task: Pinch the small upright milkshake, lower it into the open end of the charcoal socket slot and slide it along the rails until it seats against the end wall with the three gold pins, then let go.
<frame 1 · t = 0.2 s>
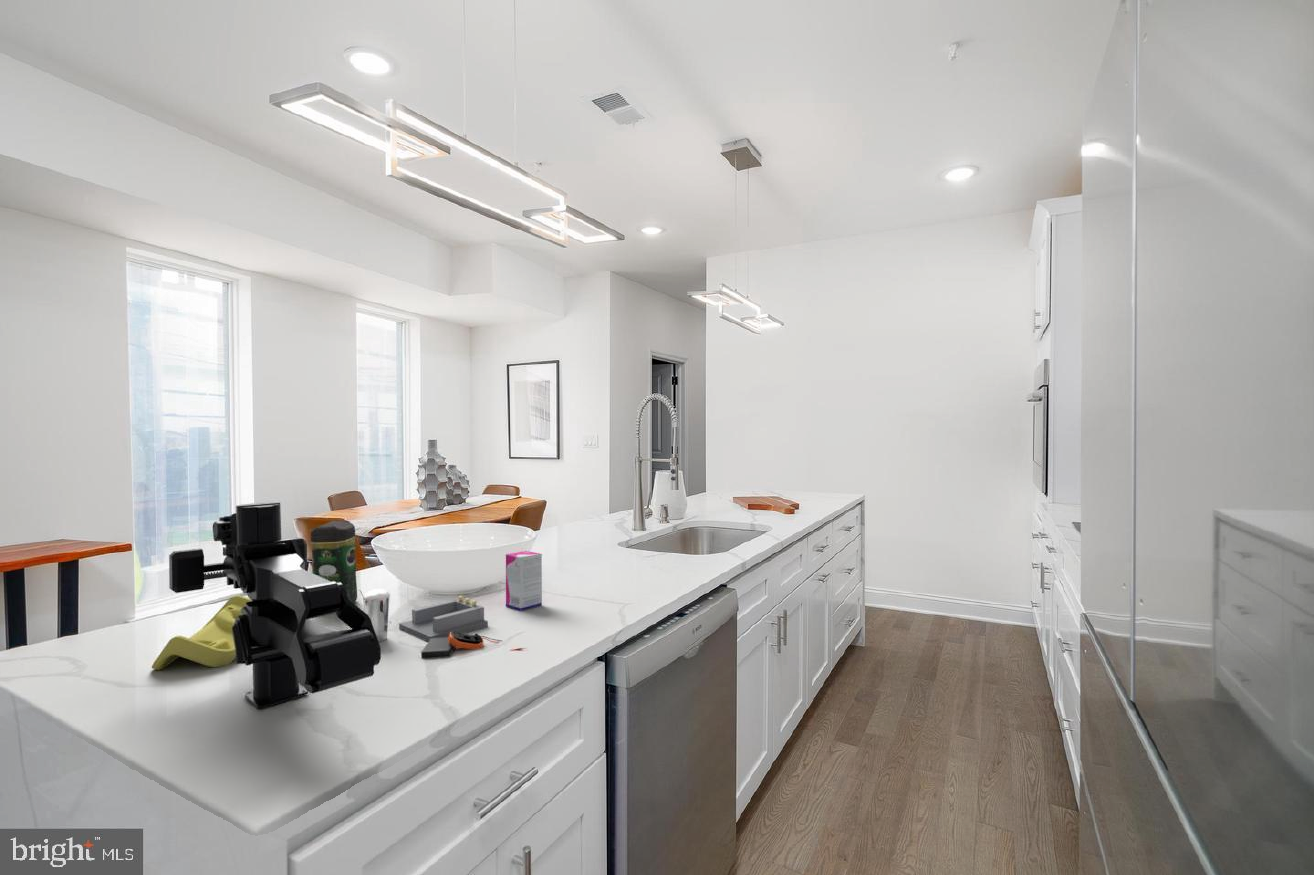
hand: (229, 558, 107), 17 cm above the counter, tool horizontal, fingers open, 9 cm apart
supplement box: (524, 606, 134), on the counter
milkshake: (375, 641, 113), on the counter
header socket: (443, 627, 120), on the counter
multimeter: (479, 648, 110), on the counter
plastic component: (222, 652, 109), on the counter
coffee jar: (334, 607, 135), on the counter
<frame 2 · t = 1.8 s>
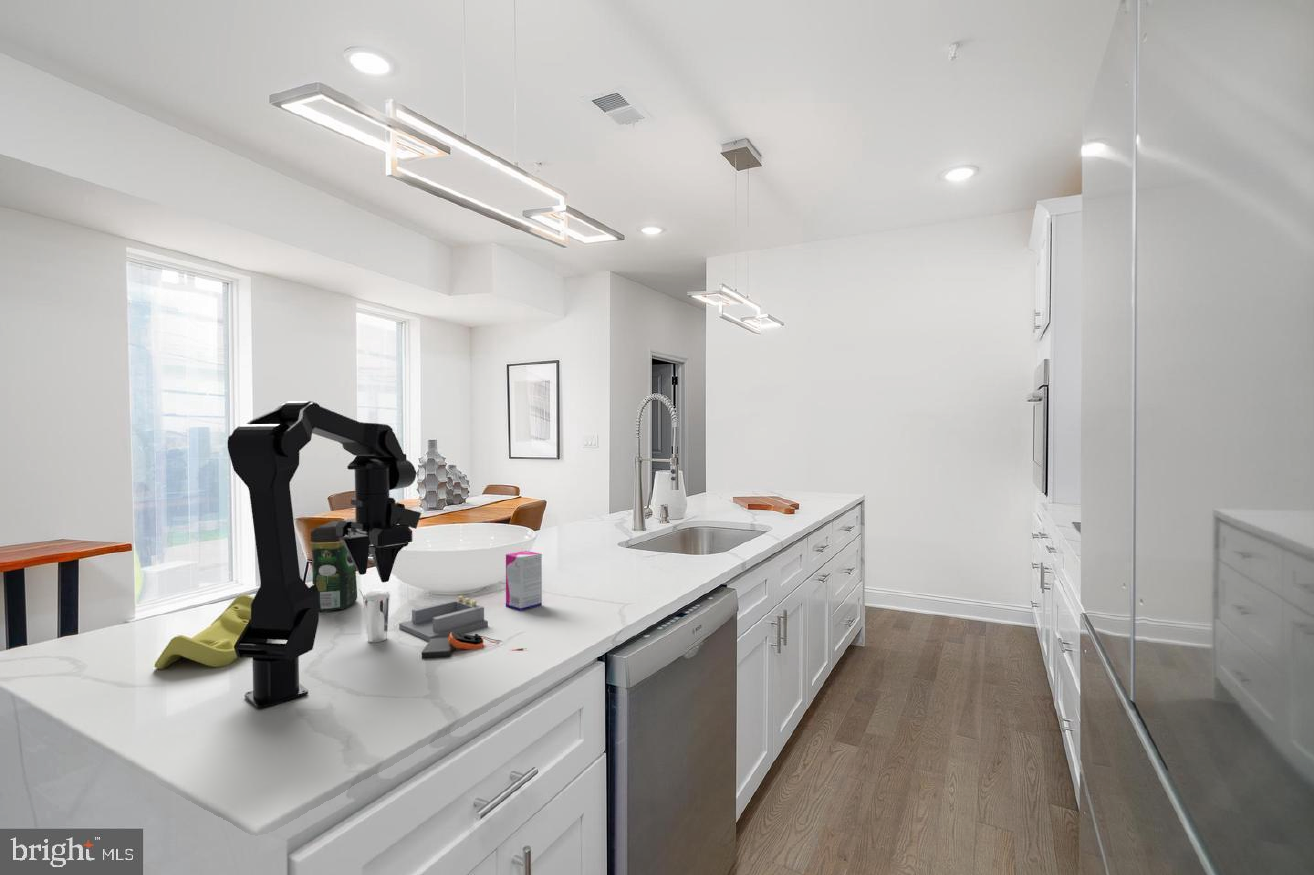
hand: (373, 578, 113), 11 cm above the counter, tool pointing down, fingers open, 9 cm apart
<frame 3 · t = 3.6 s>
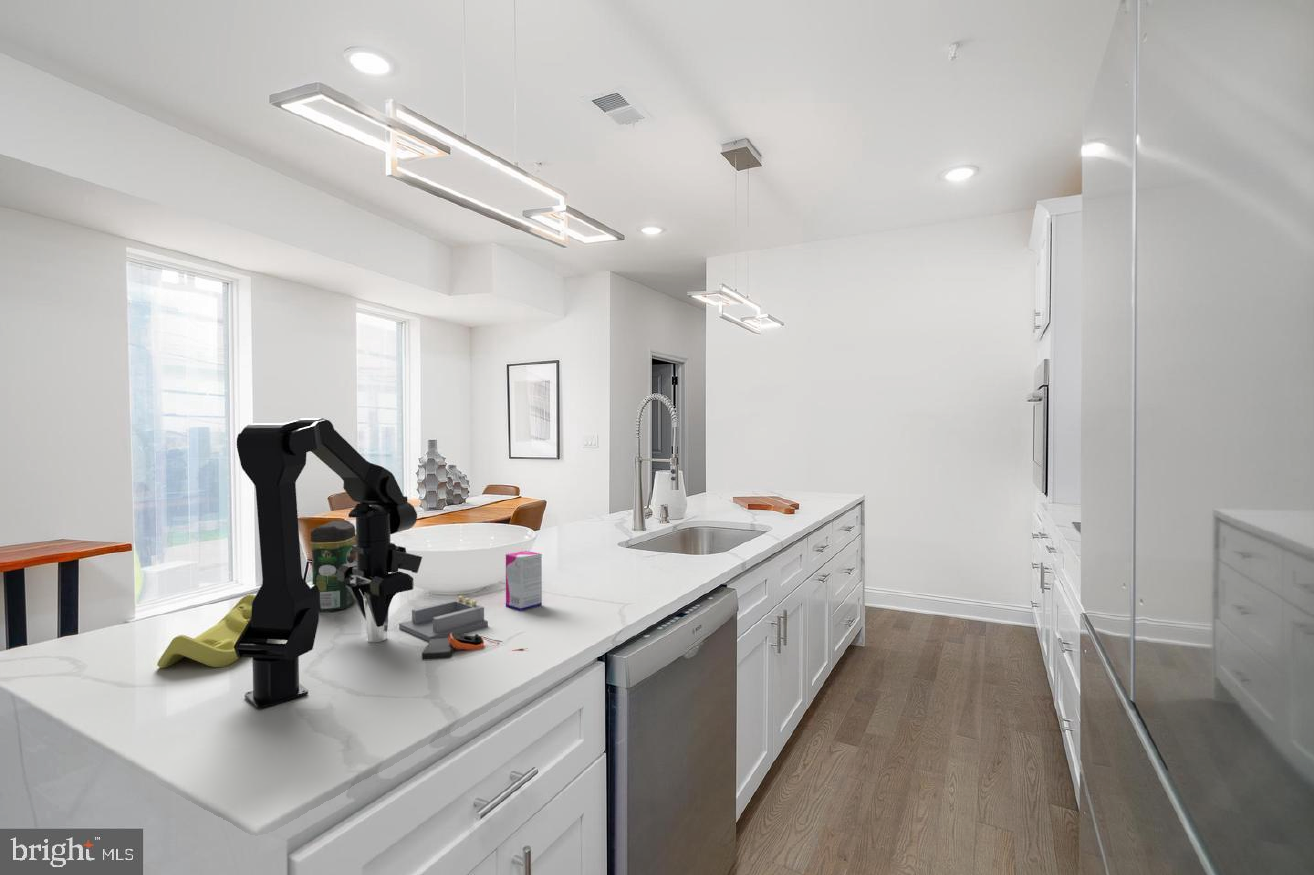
hand: (374, 623, 113), 3 cm above the counter, tool pointing down, fingers closed on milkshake, 4 cm apart
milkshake: (375, 641, 113), on the counter, touching gripper
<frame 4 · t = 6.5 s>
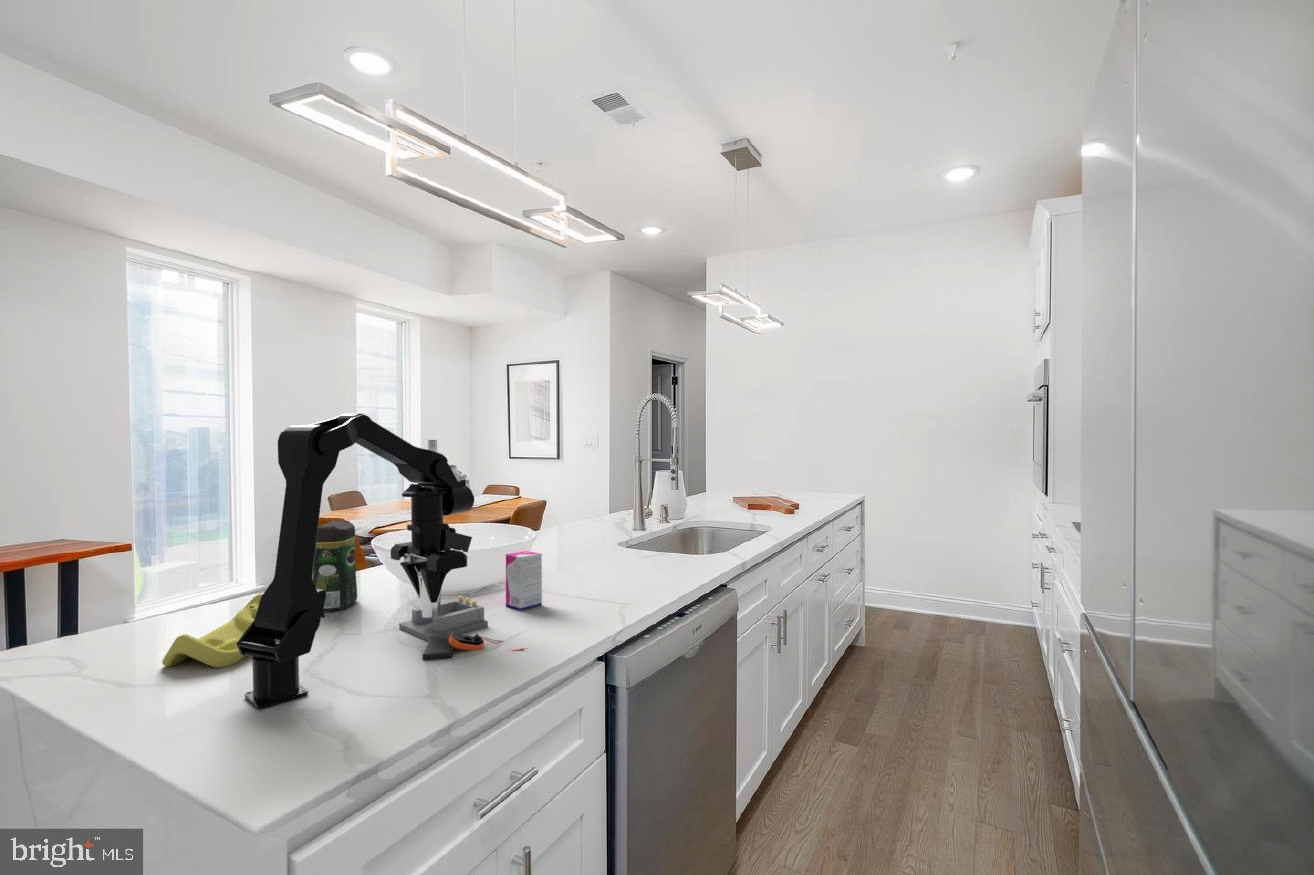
hand: (428, 600, 118), 6 cm above the counter, tool pointing down, fingers closed on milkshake, 4 cm apart
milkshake: (428, 617, 118), point 3 cm above the counter, touching gripper
plastic component: (236, 651, 109), on the counter
everything else where it was.
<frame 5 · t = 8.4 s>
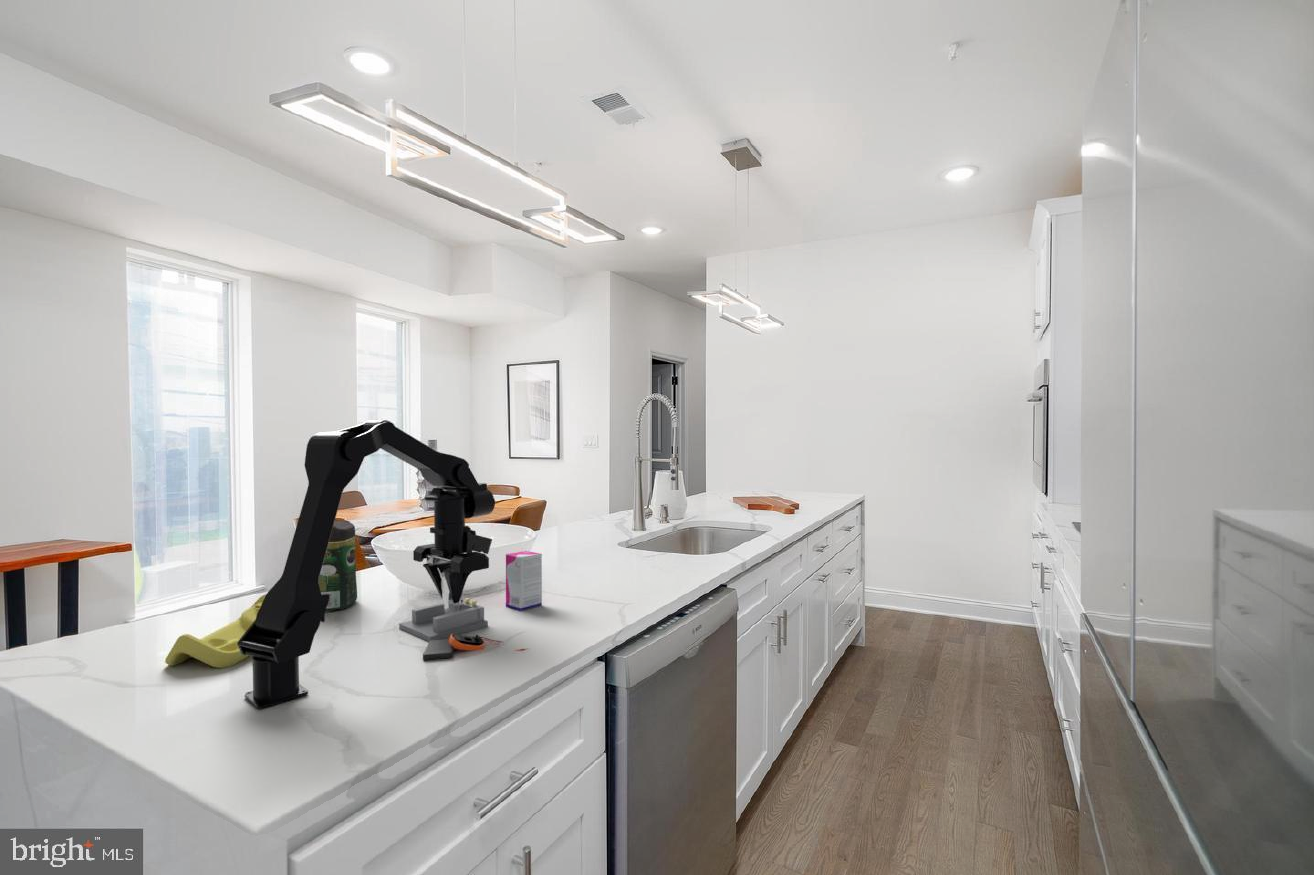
hand: (450, 600, 121), 5 cm above the counter, tool pointing down, fingers closed on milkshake, 4 cm apart
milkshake: (450, 617, 121), point 2 cm above the counter, touching gripper
when the fingers open (5 cm above the counter, at t = 8.9 s): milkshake stays where it is, resting on header socket.
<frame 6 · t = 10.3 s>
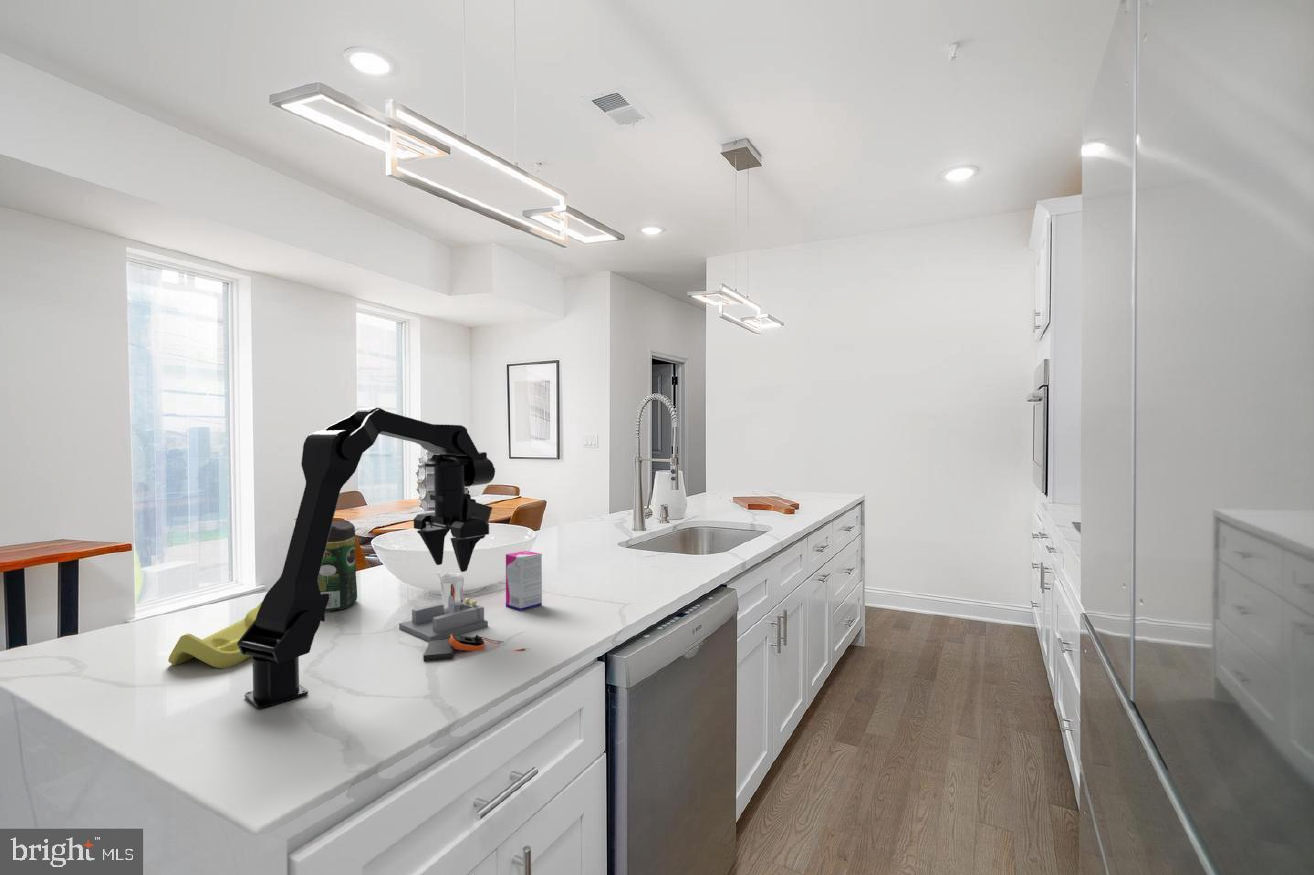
hand: (451, 568, 121), 11 cm above the counter, tool pointing down, fingers open, 9 cm apart
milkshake: (450, 621, 121), point 1 cm above the counter, touching header socket
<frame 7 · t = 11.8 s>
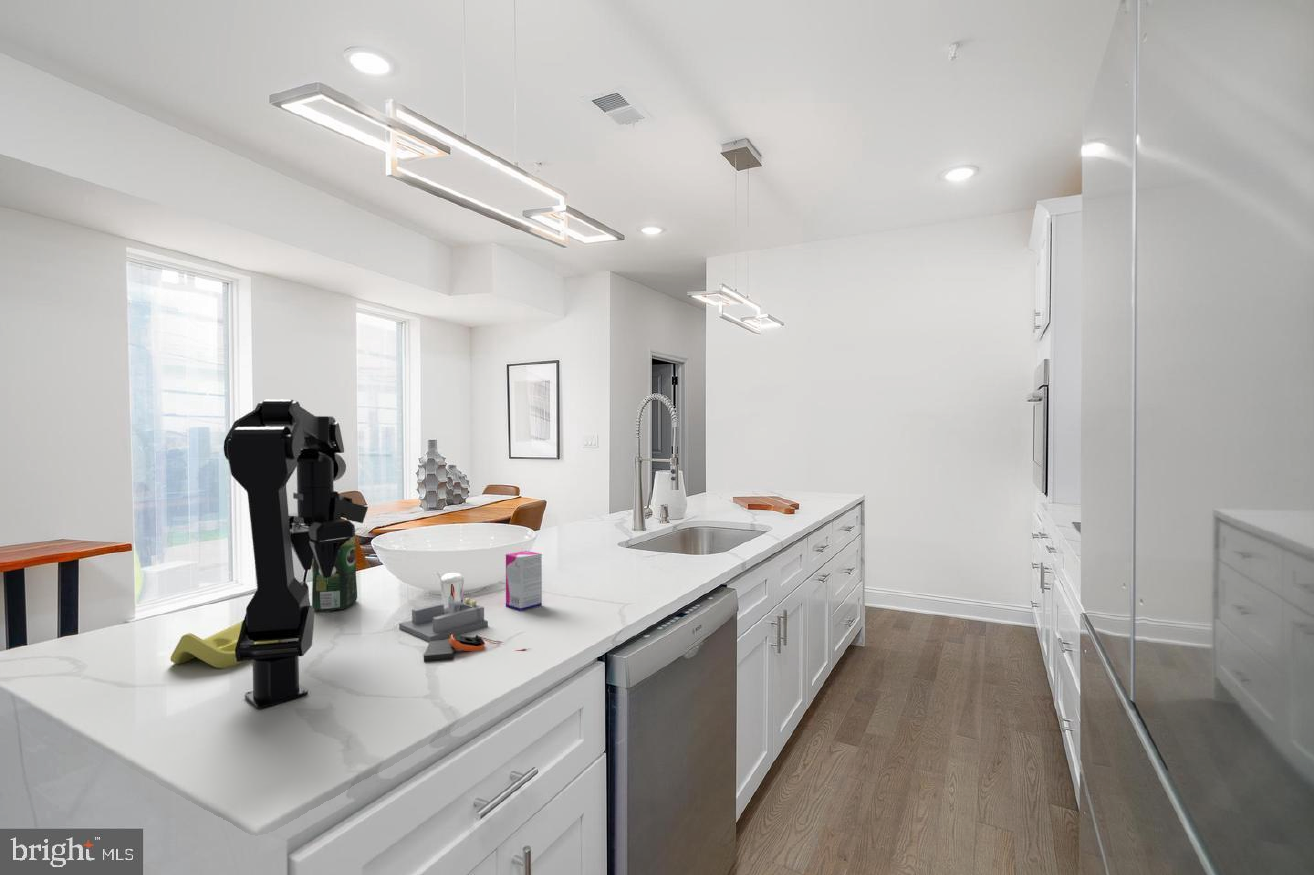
hand: (317, 573, 110), 13 cm above the counter, tool pointing down, fingers open, 9 cm apart
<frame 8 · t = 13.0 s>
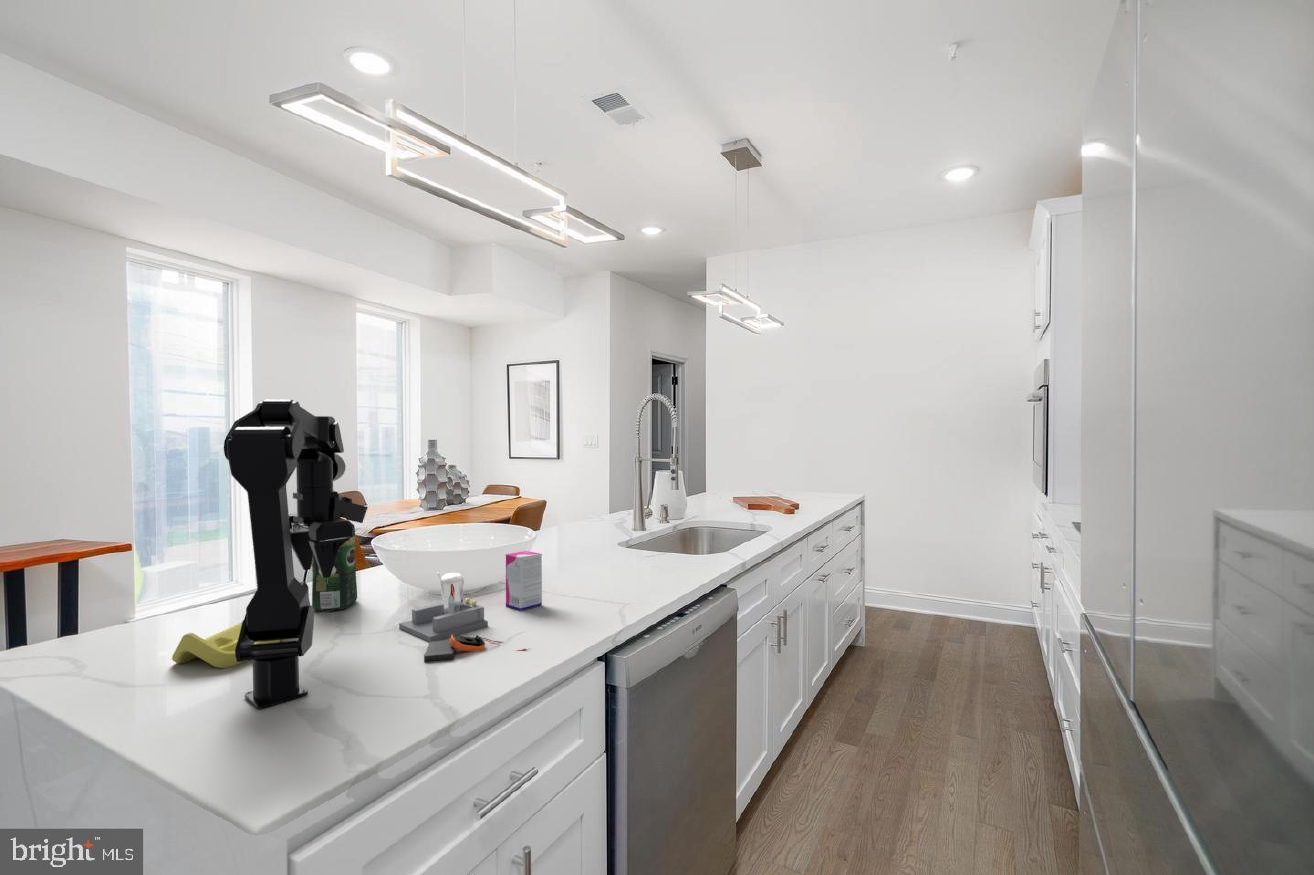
hand: (316, 573, 110), 13 cm above the counter, tool pointing down, fingers open, 9 cm apart
at the end: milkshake 0.2 cm from the target spot on the header socket, point 0.8 cm above the header socket's base; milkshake tilted 0°; the gripper is holding nothing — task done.
